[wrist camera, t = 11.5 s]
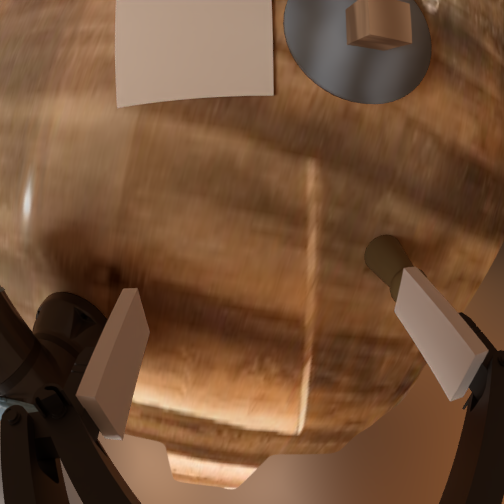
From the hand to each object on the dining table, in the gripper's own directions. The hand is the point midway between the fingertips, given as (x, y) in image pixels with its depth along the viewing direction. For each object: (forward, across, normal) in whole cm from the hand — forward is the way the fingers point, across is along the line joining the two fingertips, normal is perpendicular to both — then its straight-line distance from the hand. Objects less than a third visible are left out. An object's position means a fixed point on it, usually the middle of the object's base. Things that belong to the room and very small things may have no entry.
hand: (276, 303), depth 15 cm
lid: (+19, +12, +17) cm, 28 cm away
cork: (+26, +19, -12) cm, 35 cm away
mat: (+27, -6, +20) cm, 34 cm away
